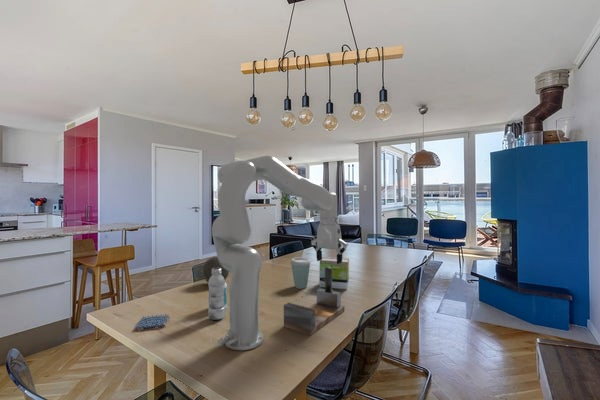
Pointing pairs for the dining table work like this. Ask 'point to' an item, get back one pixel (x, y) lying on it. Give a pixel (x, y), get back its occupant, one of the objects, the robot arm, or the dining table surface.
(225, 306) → the pill bottle
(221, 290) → the plastic bottle
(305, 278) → the disposable coffee cup
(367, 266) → the dining table surface
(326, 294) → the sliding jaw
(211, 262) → the cantaloupe
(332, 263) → the tea box
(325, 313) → the press base
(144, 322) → the woven mat
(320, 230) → the robot arm
